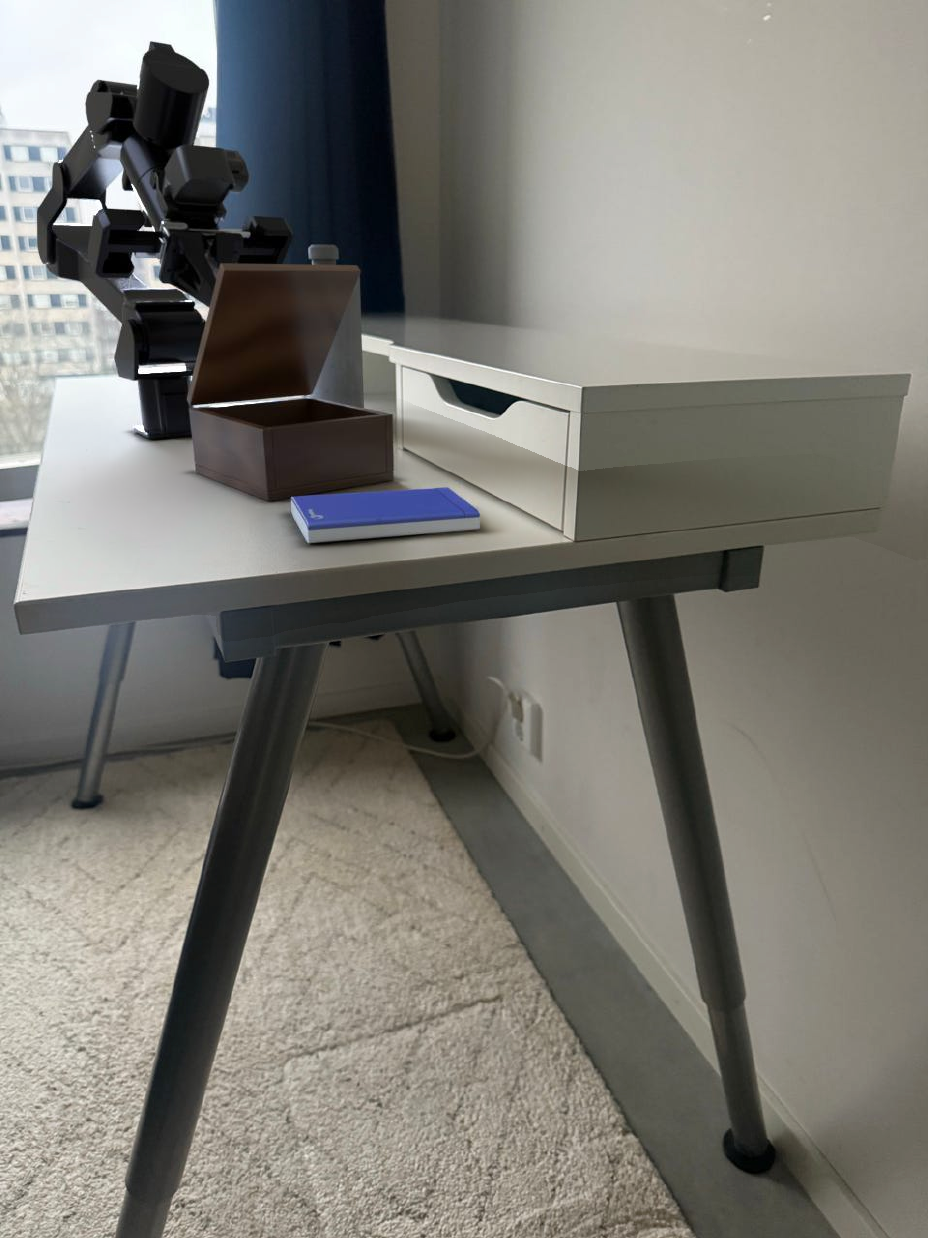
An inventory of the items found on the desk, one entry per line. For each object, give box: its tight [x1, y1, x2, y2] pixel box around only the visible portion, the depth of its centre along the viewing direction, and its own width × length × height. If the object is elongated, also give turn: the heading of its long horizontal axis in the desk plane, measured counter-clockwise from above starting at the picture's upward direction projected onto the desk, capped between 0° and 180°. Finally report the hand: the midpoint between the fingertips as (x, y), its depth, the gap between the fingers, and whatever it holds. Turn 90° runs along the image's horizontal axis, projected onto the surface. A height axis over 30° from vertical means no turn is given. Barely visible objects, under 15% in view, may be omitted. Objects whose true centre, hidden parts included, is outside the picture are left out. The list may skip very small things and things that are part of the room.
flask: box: [306, 244, 365, 408], centre depth 105 cm, size 15×6×20 cm, turn 19°
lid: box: [187, 263, 362, 407], centre depth 75 cm, size 14×13×1 cm
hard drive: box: [290, 486, 481, 544], centre depth 64 cm, size 2×8×12 cm
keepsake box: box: [189, 396, 395, 502], centre depth 77 cm, size 14×13×6 cm
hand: (229, 313), depth 80 cm, fingers closed
